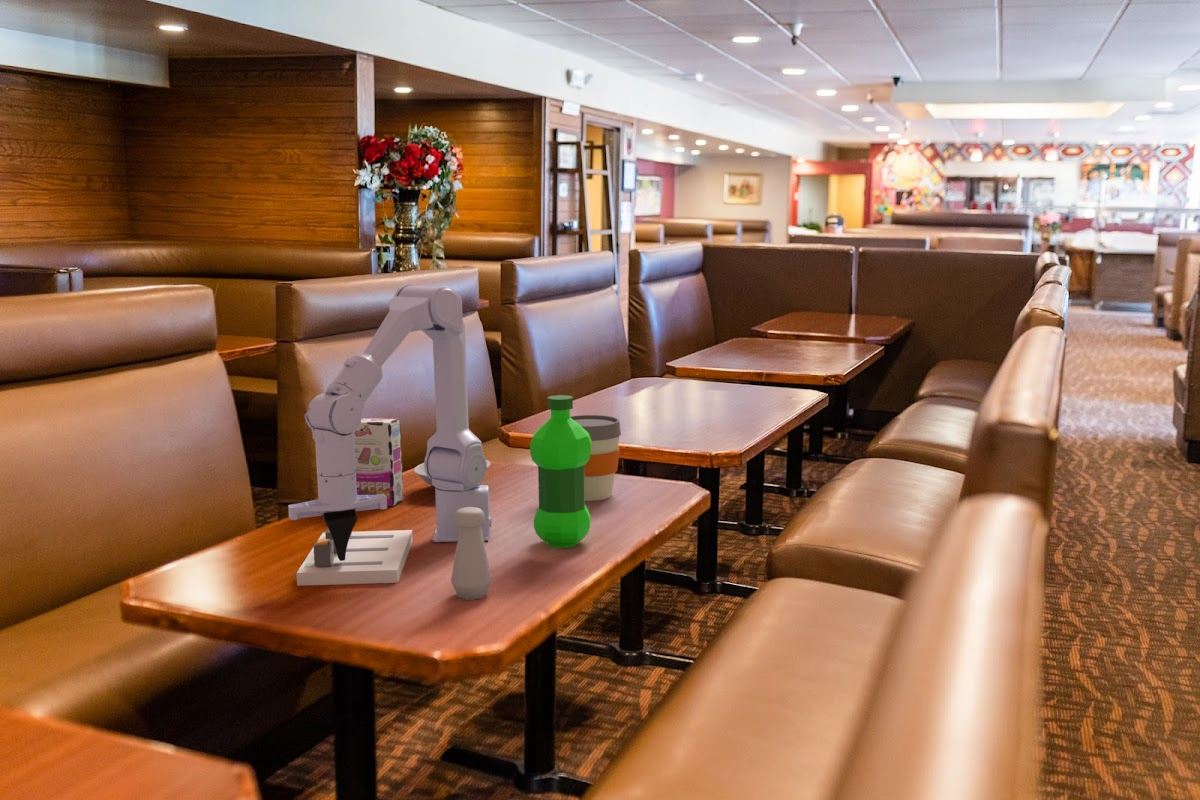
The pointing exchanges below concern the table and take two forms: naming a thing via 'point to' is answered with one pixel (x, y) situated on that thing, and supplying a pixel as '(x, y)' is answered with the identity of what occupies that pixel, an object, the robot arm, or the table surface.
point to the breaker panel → (361, 560)
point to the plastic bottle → (561, 476)
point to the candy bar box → (379, 459)
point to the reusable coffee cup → (600, 454)
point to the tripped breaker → (323, 552)
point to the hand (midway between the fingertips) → (341, 558)
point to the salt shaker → (470, 556)
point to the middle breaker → (329, 536)
